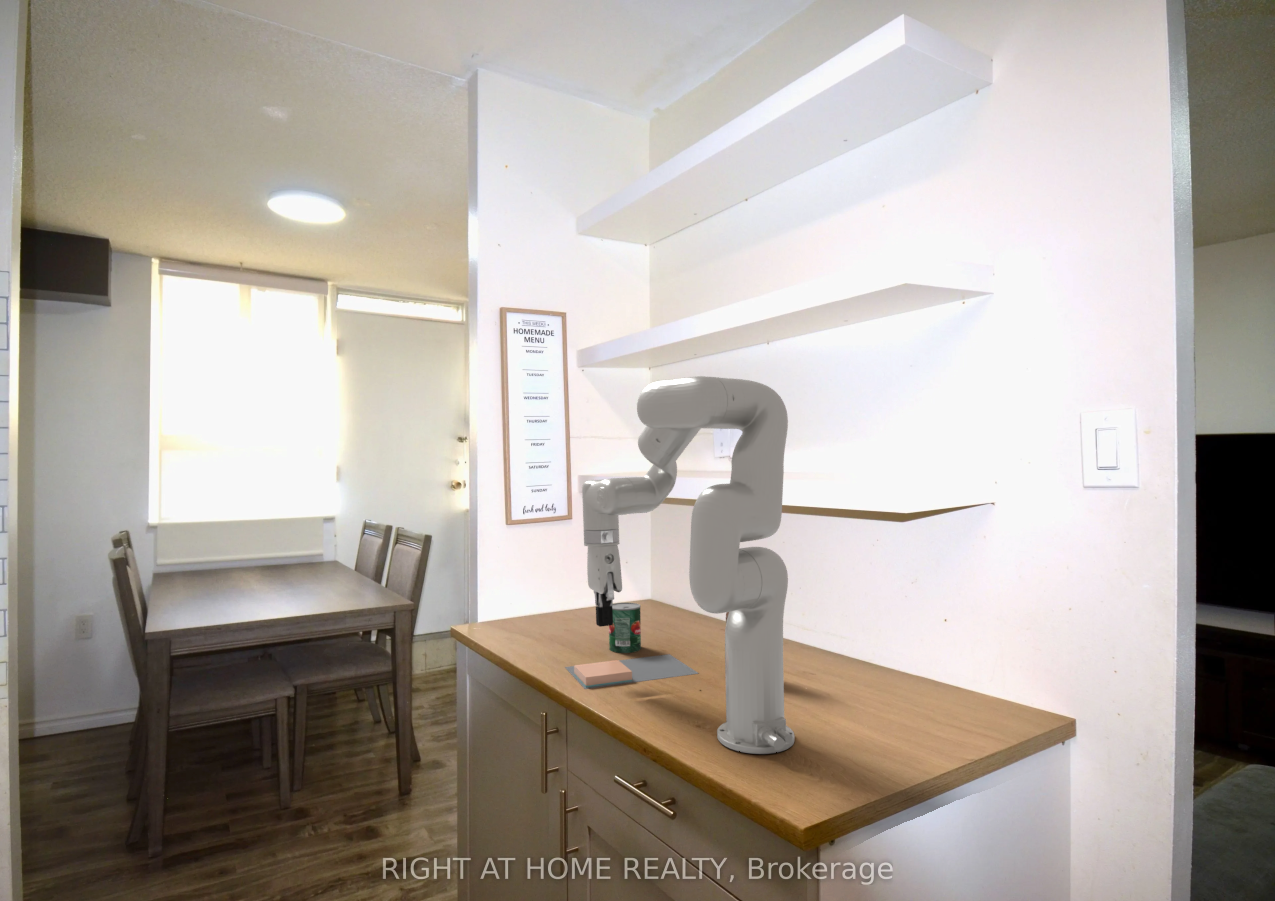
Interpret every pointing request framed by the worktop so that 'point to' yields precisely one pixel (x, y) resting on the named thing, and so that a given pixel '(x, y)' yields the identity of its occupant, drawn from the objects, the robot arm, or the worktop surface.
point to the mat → (649, 669)
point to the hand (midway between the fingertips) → (604, 624)
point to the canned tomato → (625, 628)
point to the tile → (602, 673)
